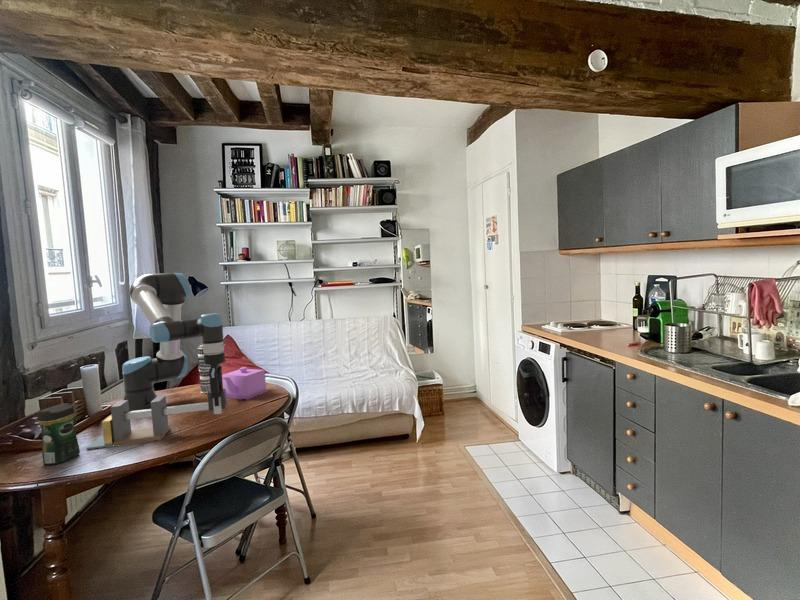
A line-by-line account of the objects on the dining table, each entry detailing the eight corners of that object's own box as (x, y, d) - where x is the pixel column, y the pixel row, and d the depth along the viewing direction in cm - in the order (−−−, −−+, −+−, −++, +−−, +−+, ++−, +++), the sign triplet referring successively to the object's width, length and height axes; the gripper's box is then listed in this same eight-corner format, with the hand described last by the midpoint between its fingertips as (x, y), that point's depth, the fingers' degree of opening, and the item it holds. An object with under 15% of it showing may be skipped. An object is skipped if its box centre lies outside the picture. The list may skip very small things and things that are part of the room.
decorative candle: (207, 394, 216) (202, 346, 215) (196, 393, 221) (191, 345, 219) (222, 390, 224) (218, 343, 223) (211, 388, 229) (207, 342, 227)
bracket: (124, 434, 164) (121, 399, 163) (170, 428, 168) (167, 394, 167) (112, 446, 153) (108, 408, 152) (161, 439, 157) (157, 402, 156)
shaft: (125, 418, 160) (123, 400, 160) (226, 405, 169) (225, 388, 169) (121, 421, 157) (119, 403, 156) (225, 408, 165) (223, 391, 165)
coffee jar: (66, 452, 149) (61, 401, 148) (84, 453, 147) (78, 401, 146) (37, 465, 140) (31, 410, 139) (55, 466, 138) (49, 410, 137)
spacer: (115, 434, 163) (113, 412, 162) (123, 433, 163) (120, 412, 163) (104, 444, 153) (101, 421, 152) (112, 443, 153) (109, 420, 153)
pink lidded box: (212, 402, 203) (210, 373, 202) (250, 388, 225) (248, 362, 224) (236, 404, 196) (234, 375, 196) (272, 389, 219) (270, 363, 218)
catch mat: (101, 437, 162) (101, 435, 162) (125, 434, 164) (125, 432, 164) (86, 450, 151) (86, 448, 151) (112, 446, 153) (112, 444, 153)
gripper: (220, 356, 158) (226, 417, 159) (227, 348, 174) (232, 404, 176) (199, 358, 156) (204, 420, 158) (207, 350, 173) (212, 406, 174)
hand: (219, 411), depth 167 cm, fingers open, 4 cm apart
